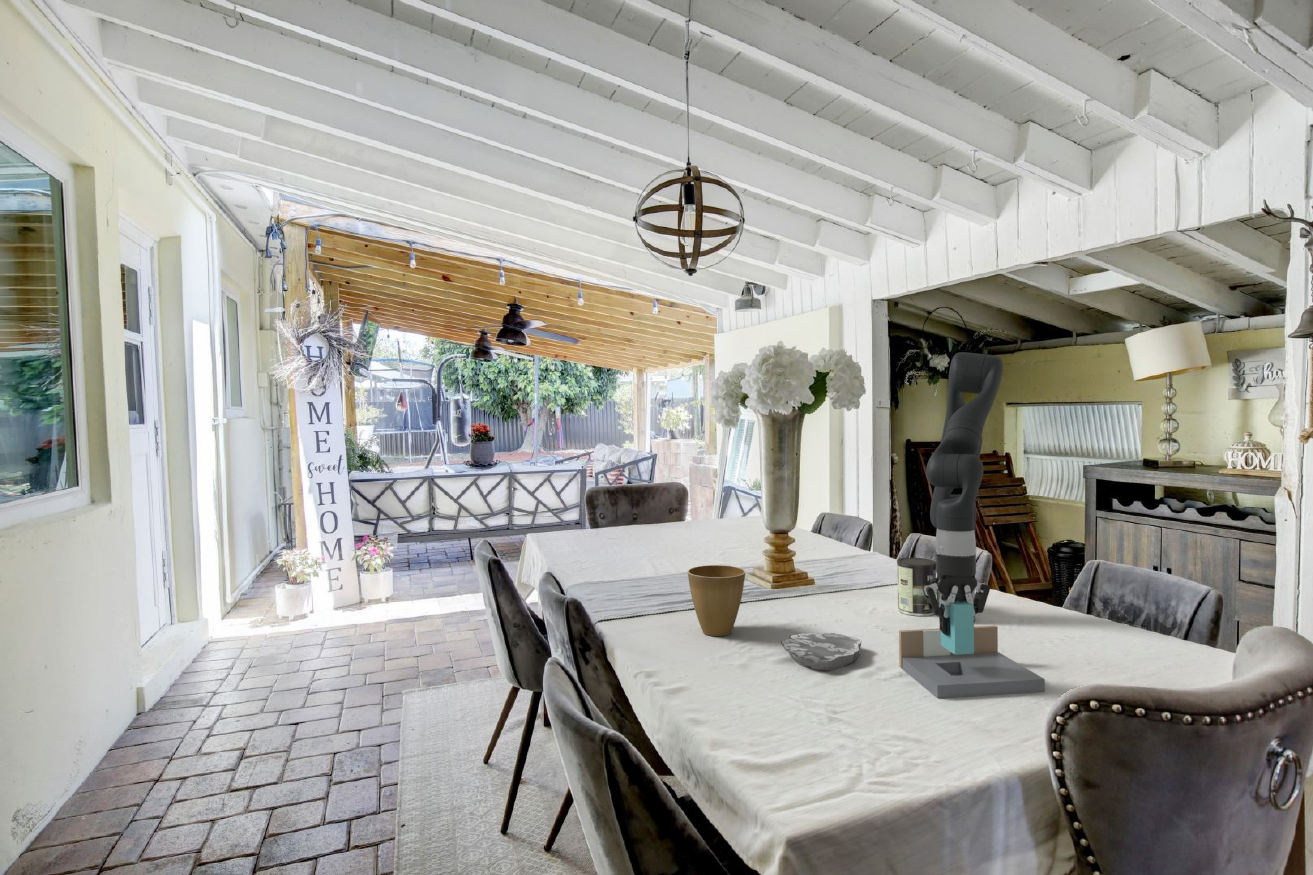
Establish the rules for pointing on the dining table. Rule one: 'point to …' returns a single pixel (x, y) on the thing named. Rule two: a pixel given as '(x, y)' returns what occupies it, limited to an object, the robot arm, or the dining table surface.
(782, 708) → the dining table surface
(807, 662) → the brain slice
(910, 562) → the coffee can
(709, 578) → the plant pot
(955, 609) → the teal block
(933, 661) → the socket plate
